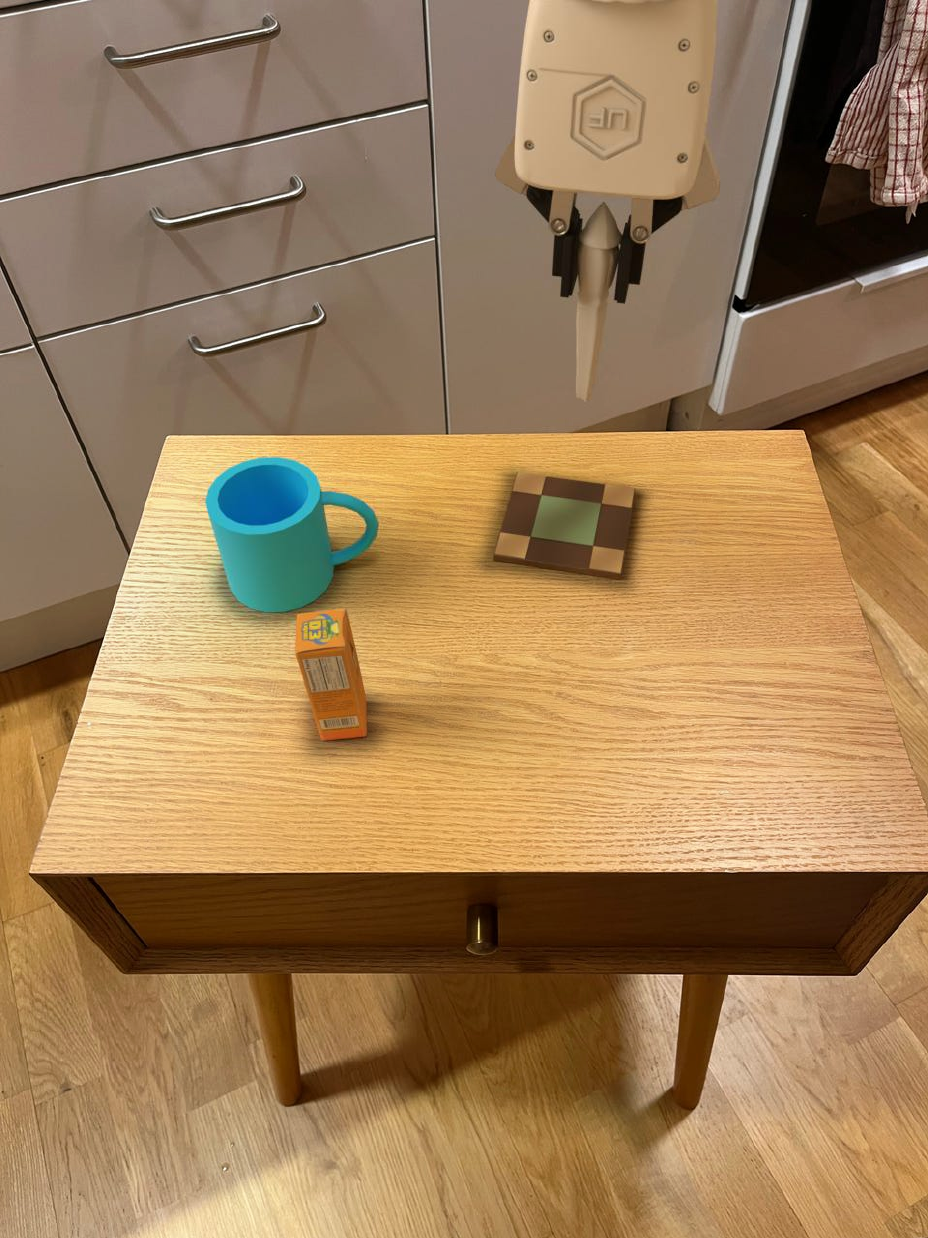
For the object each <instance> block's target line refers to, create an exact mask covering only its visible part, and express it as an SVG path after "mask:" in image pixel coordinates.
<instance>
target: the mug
mask: <svg viewBox="0 0 928 1238" xmlns="http://www.w3.org/2000/svg"><path fill="white" fill-rule="evenodd" d="M204 503H205V506H206V507H205V508H206V511H207V514H208V518H209V522H210V524H211V528H212V532H213V535H214V538H215V542H216V545H217V548H218V549H217V550H218V552H219V556H220V559H221V562H222V566H223V569H224V573H225V576H226V579H227V582H228V585H229V590H230V592H231V593H232V594H233V596H234V597H235V598H236V600H237V601H238V602H240V603H241V604H243V605H244V606H246V607H248V608H249V609H252V610H256V611H259V612H264V613H285V612H286V613H287V612H289V611H294V610H298V609H301V608H303V607H305V606H307V605H309V604H311V603H313V602H315V601H316V600H317V599H319V598H320V596H321V595H323V594H324V593H325V592H326V591H327V590H328V588H329V586H330V584H331V582H332V581H333V579H334V571H335V566H337V565H341V564H344V563H346V562H348V561H352V560H353V559H355V558H357V557H359V556H361V554H363V553H364V552H365V551H367V550H369V549H370V547H371V546H372V544H373V543H374V541H375V540H376V539H377V537H378V532H379V525H380V523H379V520H378V517H377V515H376V513H375V510H374V509H373V508H372V507H370V505H368V503H366V502H365V501H364V500H362V499H361V498H357V497H356V496H353V495H350V494H348V493H342V492H337V491H331V490H324V491H323V490H322V487H321V485H320V482H319V478H318V476H317V474H315V473H314V472H313V470H311V468H309V466H306V465H305V464H303V463H301V462H299V461H297V460H294V459H291V458H285V457H281V456H271V457H270V456H268V457H267V456H265V457H258V458H252V459H248V460H243V461H242V462H240V463H237V464H235V465H233V466H231V467H229V468H227V469H226V470H224V471H223V472H222V473H220V474H219V475H218V476H216V478H215V479H214V481H213V482H212V483H211V485H210V486H209V487H208V488H207V492H206V496H205V500H204ZM325 506H335V507H340V508H344V509H348V510H350V511H352V512H354V513H357V514H358V516H360V517H361V518H362V519H363V521H364V523H365V531H364V532H363V533H362V535H361V536H360V538H359V539H357V540H356V541H355V542H352V544H350V545H348V546H346V547H344V548H342V549H339V550H336V551H332V547H331V540H330V534H329V527H328V522H327V516H326V510H325Z"/></svg>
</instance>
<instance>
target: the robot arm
mask: <svg viewBox="0 0 928 1238" xmlns="http://www.w3.org/2000/svg"><path fill="white" fill-rule="evenodd" d="M528 2H529V3H528V7H527V13H526V20H525V25H524V26H525V27H524V33H523V41H522V50H521V59H520V69H519V70H520V71H519V78H518V79H519V81H518V90H517V92H518V94H517V102H516V103H517V105H516V117H515V118H516V120H515V131H514V132H513V134H512V137H511V138H510V140H509V142H508V144H507V146H506V148H505V150H504V151H503V154H502V155H501V157H500V160H499V161H498V164H497V166H496V168H495V171H494V176H495V179H496V180H497V181H498V182H499V183H501V184H503V185H504V186H506V187H508V188H510V189H511V190H513V191H515V192H516V193H518V194H519V195H523V196H525V197H526V199H527V200H528V201H529V203H530V204H531V205H532V206H533V207H534V208H535V209H536V211H537V212H538V213H539V214H540V215H541V216H542V218H543V219H544V220H545V221H546V222H547V223H548V229H549V231H550V233H551V234H552V235H553V249H552V250H553V251H552V264H551V265H552V267H551V276H552V277H559V278H561V279H560V292H559V296H560V298H567V299H568V298H570V297H572V296H573V295H574V289H575V287H576V283H577V279H578V266H577V252H578V249H579V246H580V244H581V242H580V241H579V239H578V237H579V233H580V232H581V231H582V230H583V221H584V218H581V213H580V210H579V209H578V208H577V207H576V206H577V198H578V194H587V195H595V196H607V197H608V196H609V197H617V198H618V197H620V198H630V199H631V209H630V211H631V212H630V214H629V215H628V219H627V222H625V223H624V226H623V231H622V239H621V244H620V245H619V250H620V251H619V260H618V265H617V269H616V277H615V286H614V287H615V288H614V294H613V295H614V296H613V301H615V302H616V304H624V305H625V304H626V301H627V296H628V291H629V287H630V285H635V286H636V285H637V286H640V285H641V281H642V274H643V267H644V261H645V253H646V247H647V246H646V245H647V242H648V241H649V240H650V239H651V236H652V235H653V234H654V233H656V232H657V231H658V230H659V229H661V228H662V227H663V226H665V225H666V224H667V223H668V222H670V221H671V220H672V219H674V218H675V217H677V216H678V215H679V214H680V213H681V212H683V211H685V210H691V209H693V208H696V207H699V206H702V205H705V204H707V203H710V202H712V201H713V202H714V201H715V200H716V199H717V198H718V197H719V195H720V190H721V177H720V174H719V172H718V169H717V168H718V167H717V165H716V161H715V159H714V155H713V153H712V149H711V146H710V142H709V139H708V136H707V133H706V132H707V125H708V117H709V110H710V100H711V93H712V83H713V76H714V68H715V59H716V45H717V32H718V31H717V30H718V28H717V27H718V23H717V22H718V0H529V1H528Z"/></svg>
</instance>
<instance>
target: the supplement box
mask: <svg viewBox="0 0 928 1238" xmlns="http://www.w3.org/2000/svg"><path fill="white" fill-rule="evenodd" d="M350 622H351V621H350V618H349V614H348V610H347V609H346V607H339V608H334V609H327V610H318V611H317V610H316V611H309V612H302V613H297V614H296V624H295V647H294V654H295V657H296V661H297V664H298V668H299V671H300V673H301V677H302V681H303V684H304V687H305V690H306V693H307V697H308V700H309V704H310V707H311V710H312V714H313V717H314V721H315V724H316V727H317V731H318V734H319V737H320V740H321V741H322V742H323V741H324V742H325V741H335V740H343V739H345V740H346V739H353V738H354V739H355V738H362V737H363V738H364V737H366V736H367V734H368V716H367V715H368V714H367V713H368V711H367V697H366V691H365V686H364V685H365V684H364V680H363V677H362V671H361V666H360V661H359V657H358V652H357V648H356V643H355V640H354V634H353V630H352V626H351V623H350Z"/></svg>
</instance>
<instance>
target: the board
mask: <svg viewBox="0 0 928 1238" xmlns="http://www.w3.org/2000/svg"><path fill="white" fill-rule="evenodd" d="M515 474H516V475H515V478H514V481H513V484H512V488H511V491H510V494H509V498H508V502H507V505H506V508H505V512H504V515H503V520H502V523H501V526H500V530H499V533H498V537H497V540H496V543H495V547H494V551H493V554H492V561H497V562H503V563H509V564H516V565H522V566H529V567H535V568H542V569H547V570H548V569H549V570H555V571H560V572H561V571H562V572H569V573H574V574H581V575H588V576H595V577H601V578H608V579H613V580H621V579H622V574H623V571H624V570H623V569H624V563H625V557H626V550H627V545H628V538H629V533H630V526H631V521H632V520H631V519H632V515H633V508H634V502H635V497H636V496H635V495H636V488H635V487H630V486H625V485H618V484H617V485H616V484H609V483H598V482H592V481H584V480H578V479H569V478H564V477H556V476H550V475H549V476H548V475H545V474H544V475H543V474H536V473H529V472H523V471H517V472H516V473H515Z"/></svg>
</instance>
